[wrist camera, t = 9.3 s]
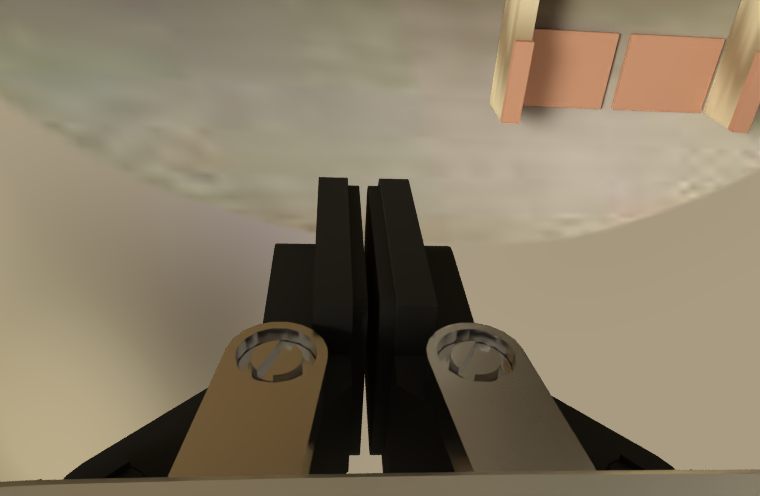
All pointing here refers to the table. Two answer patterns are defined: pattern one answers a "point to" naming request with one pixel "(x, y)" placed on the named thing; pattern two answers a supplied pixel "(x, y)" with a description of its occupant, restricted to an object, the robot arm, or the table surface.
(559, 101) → the pads
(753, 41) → the box
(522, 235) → the table surface
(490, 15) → the table surface
